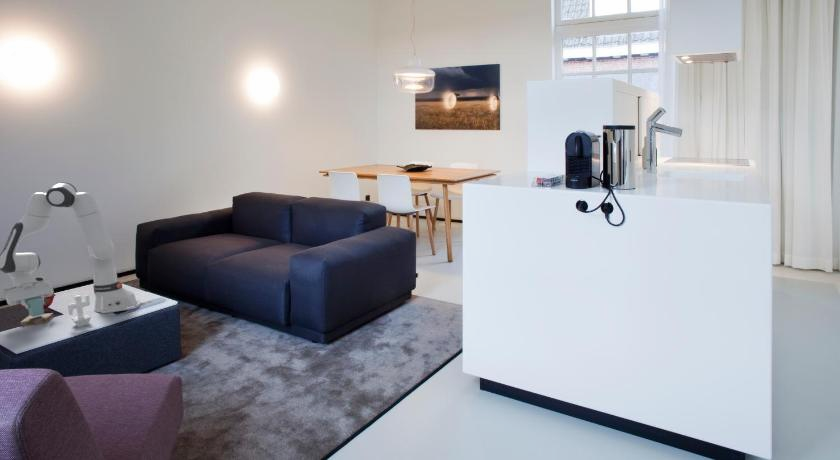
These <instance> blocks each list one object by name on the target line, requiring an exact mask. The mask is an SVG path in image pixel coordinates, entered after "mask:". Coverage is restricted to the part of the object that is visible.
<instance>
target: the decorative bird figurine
mask: <svg viewBox="0 0 840 460" xmlns="http://www.w3.org/2000/svg"><path fill="white" fill-rule="evenodd" d="M55 296H56V294H55V293H54V292H53V295H52V296H49V297H45V298H44V303H45V304H44V305H43V309H44V313H45V312H46V313H47V312H48V311H49V309H48V310H47V308H49V307H50V306H52V304H53V302H54V298H55ZM18 307H20V308H21V307H22V308H26V307H25V306H23V305H18ZM45 309H46V310H45Z"/></svg>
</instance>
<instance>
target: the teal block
mask: <svg viewBox="0 0 840 460" xmlns="http://www.w3.org/2000/svg"><path fill="white" fill-rule="evenodd" d="M26 303H27V304H30V308H28V309H27V311H28V314H29V315H30V316H32V317H35V316H38V315H42V314H45V312H44V311H45V309H43V303H42V299H41V298H33V299H29V300H27V302H26ZM29 315H28V316H29Z"/></svg>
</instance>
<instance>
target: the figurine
mask: <svg viewBox="0 0 840 460" xmlns="http://www.w3.org/2000/svg"><path fill="white" fill-rule="evenodd" d="M74 300H75V302H73V303H69V304H68V306H67V307H68V308H67V311H68V314H69V315H70V316H72V315H73V314H74V311H73V310H75V309H76V314H77V316H74V317H73V316H72V317H70V319H71V320H72V321H73V323H74V324H75V325H76V326H77V327H78V328H79V327H82V326H87V325H89V323H90V321H91V318H92V317H91V316H90V314H87V313H86V314H84V309H83V308H85V307H88V306H90V303H91V302H90V296H89V294H85V296H84V300H82V295H81V294H80V295H78V294H77V295H74Z"/></svg>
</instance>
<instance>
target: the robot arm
mask: <svg viewBox="0 0 840 460" xmlns="http://www.w3.org/2000/svg"><path fill="white" fill-rule="evenodd" d="M29 197H30V198H29V199H28V201H27V204H26V206H25V211H24V213H23V216H22V218H21V219H20V220H19V221H18V222H17V223H15V224H14V226H13V227H12V229H11V230H10V232H9V233H10V234H9V236H8V237H7V240H6V243H5V244H4V246H3V250H2V252H1V253H0V271H1V272H2V273H4V274H7V275H8V277H9V279H11V281H12V285H13V287H9V288H5V289H4V290H3V291H2V294H3V296H4V297H5V300H6V304H7V305H9V306H15V305H18V304H21V305H23V306H25V307H24V308H25V309H26V310H28V308H30V304H27V300H29V299H33V298H41V299H42V303H43V305H44V304H45V303H44V298H45V297H49V296H52V295H53V293H54V292H55V291H54V289H53V287H52V285H51V284H50V283H49V282H48V281H46V278H45V277H44V276H33V275H32V274H33V273H34V272H36V271H37V270H38V269H39V267H40V266H41V264H42V263H41V258H40V256H39V254H37V253H36V252H17V251H18V248H19V246H20V244H21V242H22V240H23V239H24V238H25V237H27V236H29V235H31V234H35V233H38V232H41V231H42V230H44V229H46V228H47V227H48V225H49V223H50V221H51V215H52V211H53V209H54V207H55V208H71V209H72V210H73V212H74V214H75V216H76V219H77V222H78V225H79V227H80V229H81V232H82V234H83V237H84V239H85V241H86V244H87V251H88V256H89V263H90V266H91V271H92V278H93V293H94V296H95V304H94V312H97V313H101V314H108V313H109V314H110V313H114V312H121V311H122V312H123V311H128V310H134V309H137V308H139V307H140V306H141V304H142V302H141V300H139V299H138V300H137V298H136V295H135V293H134V292H133V291H131V290H128V289H126V288H124V287H123V281H119V280H118V274H117V269H116V264H115V260H114V254H115V244H114V242H113V240H112V237H111V235H110V233H109V231H108V229H107V228H108V227H107V226H106V224H105V221H104V219H103V216H102V213H101V209H100V208H99V205H98V204H97V201H96V199H95V198H94V197H93V195H92V194H91V193H90V192H88V191H87V192H86V191H83V192H78V190H77V188H76V187H75V186H74V185H73V184H72V183H69V182H60V183H56V184H54V185H52V186H51V187H50V188H48V190H47V191H46V192H40V191H39V192H34V193H33V194H31V195H30V196H29ZM140 302H141V303H140ZM138 303H140V304H139V305H136V304H138ZM134 305H135V306H136V307H133V308H127V307H131V306H134ZM125 308H126V309H125Z"/></svg>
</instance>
